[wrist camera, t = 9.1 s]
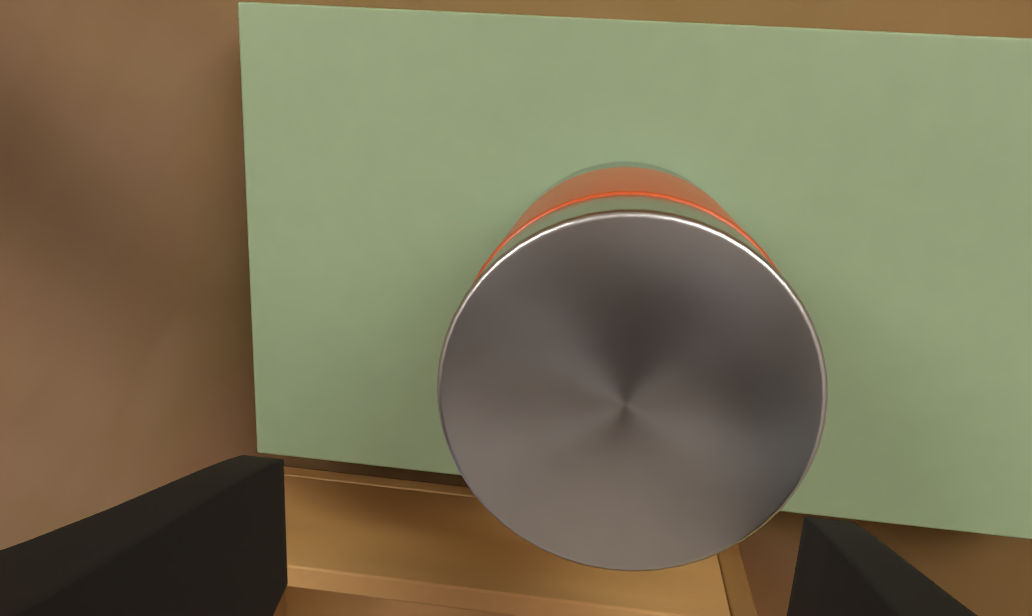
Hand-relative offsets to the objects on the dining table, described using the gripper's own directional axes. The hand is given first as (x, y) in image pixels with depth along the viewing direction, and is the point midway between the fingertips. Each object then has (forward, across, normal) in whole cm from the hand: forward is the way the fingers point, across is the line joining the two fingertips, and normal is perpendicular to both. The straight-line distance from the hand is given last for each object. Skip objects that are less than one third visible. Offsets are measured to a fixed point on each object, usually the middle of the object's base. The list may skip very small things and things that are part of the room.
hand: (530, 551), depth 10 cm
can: (+8, -1, -2) cm, 8 cm away
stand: (+10, -2, -2) cm, 10 cm away
